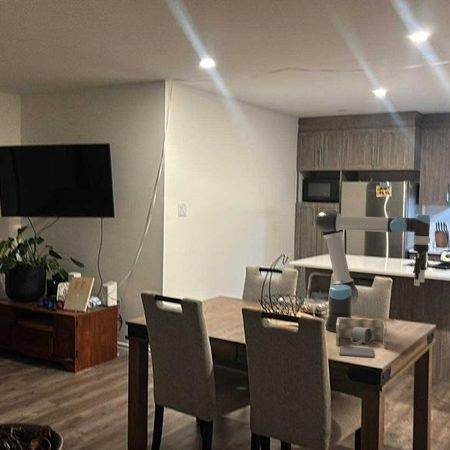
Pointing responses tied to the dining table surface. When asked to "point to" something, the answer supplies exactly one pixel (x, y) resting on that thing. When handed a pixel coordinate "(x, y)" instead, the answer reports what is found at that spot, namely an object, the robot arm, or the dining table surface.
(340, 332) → the open box
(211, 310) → the dining table surface
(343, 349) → the rubber mat
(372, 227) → the robot arm
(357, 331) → the ceramic mug
